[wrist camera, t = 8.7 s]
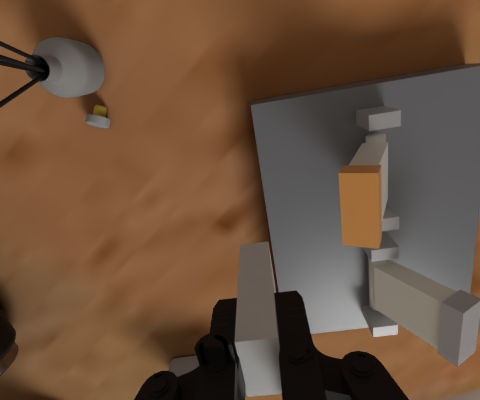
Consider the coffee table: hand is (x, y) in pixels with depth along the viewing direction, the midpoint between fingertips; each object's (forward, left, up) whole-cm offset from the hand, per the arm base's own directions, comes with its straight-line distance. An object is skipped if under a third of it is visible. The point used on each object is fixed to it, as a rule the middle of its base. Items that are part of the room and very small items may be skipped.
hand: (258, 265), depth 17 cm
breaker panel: (+11, -6, -18) cm, 22 cm away
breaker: (+11, -12, -13) cm, 21 cm away
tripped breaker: (+11, 0, -13) cm, 17 cm away
